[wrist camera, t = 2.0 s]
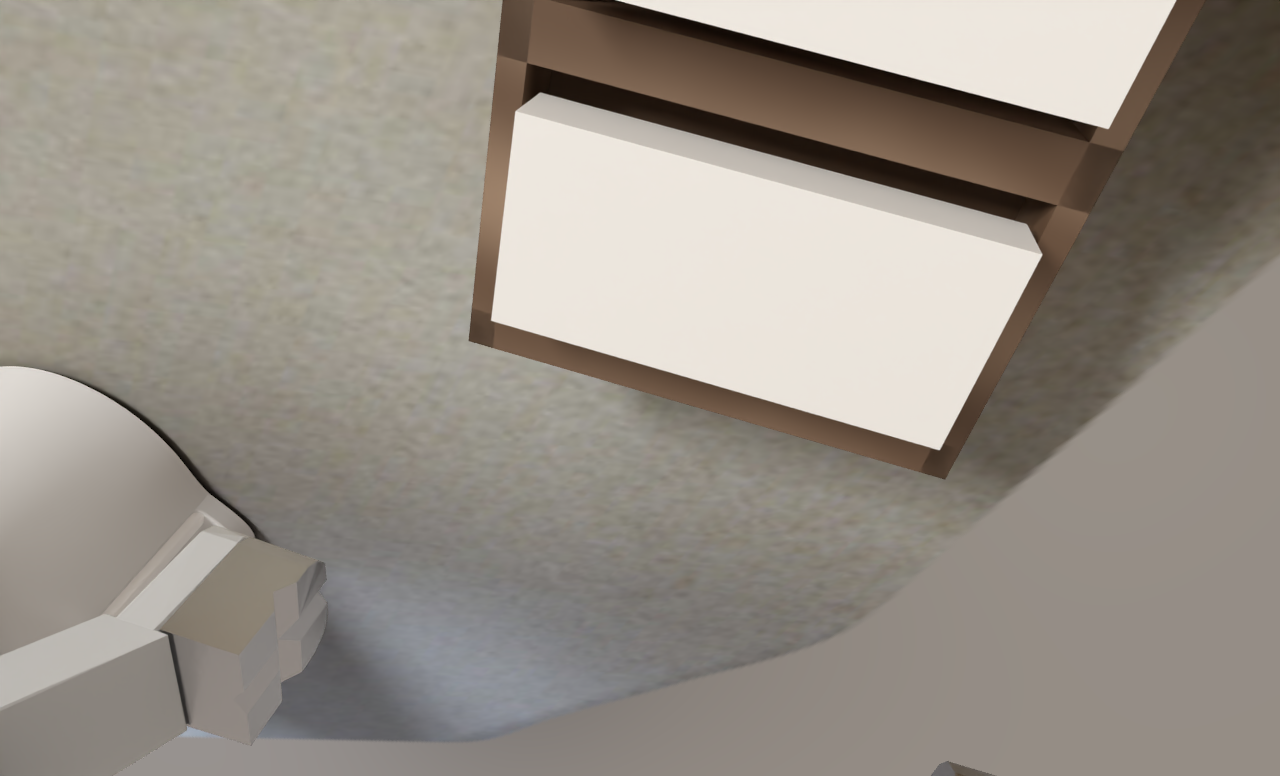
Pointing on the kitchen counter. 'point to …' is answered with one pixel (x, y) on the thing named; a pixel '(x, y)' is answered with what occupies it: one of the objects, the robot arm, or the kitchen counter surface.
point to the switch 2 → (753, 269)
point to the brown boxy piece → (810, 134)
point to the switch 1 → (966, 43)
